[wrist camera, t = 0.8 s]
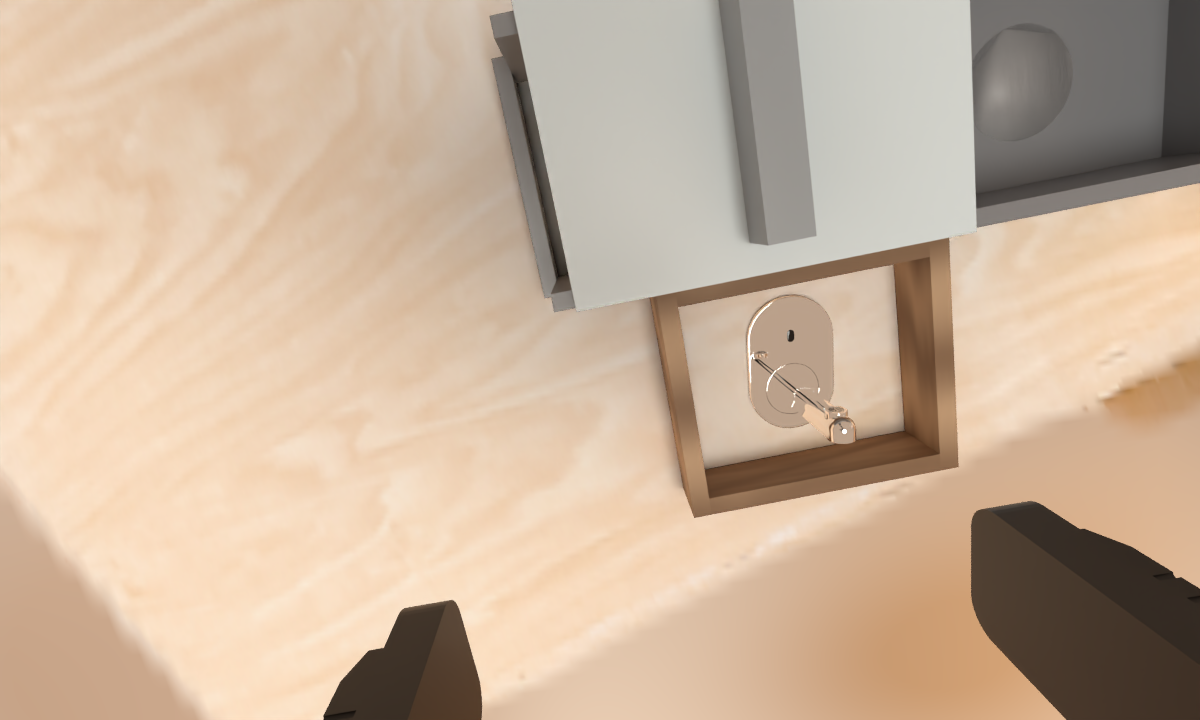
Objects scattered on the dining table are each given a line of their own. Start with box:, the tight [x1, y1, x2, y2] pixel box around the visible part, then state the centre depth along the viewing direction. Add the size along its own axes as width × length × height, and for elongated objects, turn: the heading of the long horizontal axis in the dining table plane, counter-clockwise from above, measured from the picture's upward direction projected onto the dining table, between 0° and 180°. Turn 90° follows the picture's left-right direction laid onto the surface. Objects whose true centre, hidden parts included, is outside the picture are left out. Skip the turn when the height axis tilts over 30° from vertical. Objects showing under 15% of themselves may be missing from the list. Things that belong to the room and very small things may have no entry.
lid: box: [511, 0, 977, 312], centre depth 21 cm, size 12×17×3 cm
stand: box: [746, 295, 856, 444], centre depth 30 cm, size 8×5×8 cm
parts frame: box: [650, 238, 958, 518], centre depth 32 cm, size 13×15×4 cm
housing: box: [490, 0, 1200, 312], centre depth 27 cm, size 12×35×8 cm, turn 101°
